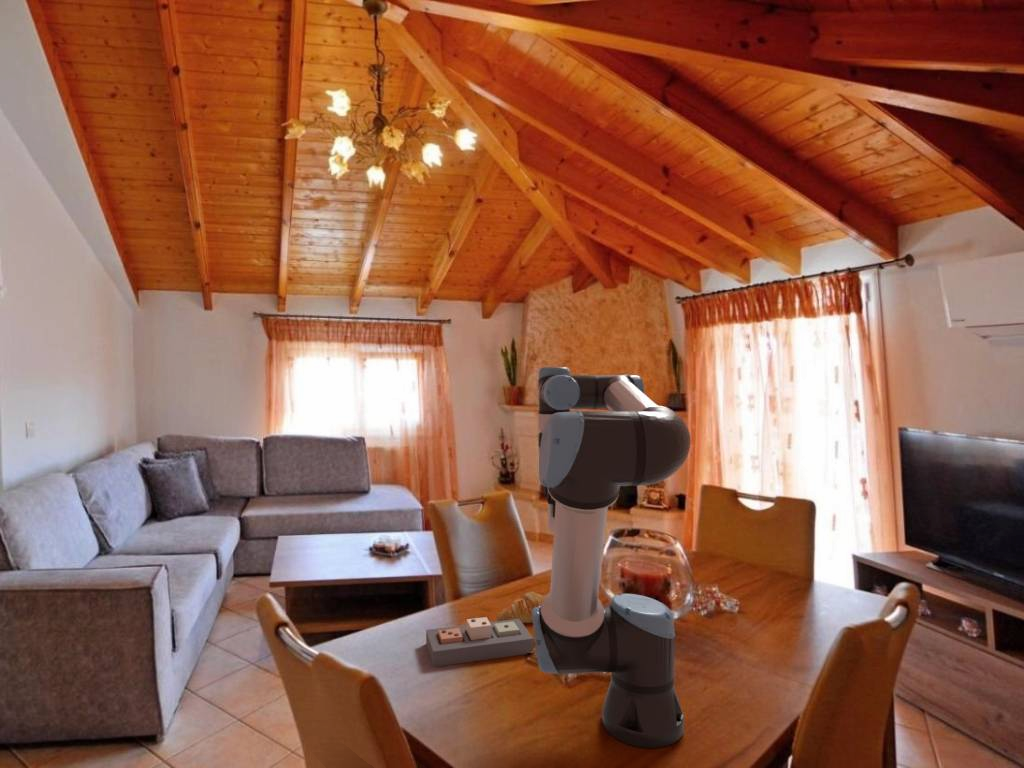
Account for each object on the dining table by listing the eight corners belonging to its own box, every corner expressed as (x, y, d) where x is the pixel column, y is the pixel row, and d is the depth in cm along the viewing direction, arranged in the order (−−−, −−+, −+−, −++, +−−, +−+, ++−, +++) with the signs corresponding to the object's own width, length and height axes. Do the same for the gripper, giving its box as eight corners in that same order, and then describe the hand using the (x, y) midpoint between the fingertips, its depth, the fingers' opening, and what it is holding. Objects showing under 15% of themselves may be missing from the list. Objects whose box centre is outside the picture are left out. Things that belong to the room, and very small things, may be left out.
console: (533, 653, 140) (533, 638, 140) (433, 666, 133) (433, 651, 133) (519, 632, 151) (519, 618, 151) (426, 643, 145) (426, 629, 144)
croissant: (502, 641, 154) (508, 619, 151) (486, 612, 162) (492, 591, 158) (567, 622, 164) (575, 602, 161) (550, 596, 172) (556, 576, 169)
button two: (491, 637, 140) (491, 624, 140) (470, 640, 139) (470, 626, 139) (486, 629, 145) (486, 616, 145) (466, 631, 144) (466, 618, 144)
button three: (462, 649, 138) (462, 635, 138) (441, 651, 137) (441, 638, 137) (458, 640, 143) (458, 627, 143) (438, 642, 142) (438, 629, 142)
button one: (519, 641, 142) (519, 628, 142) (499, 644, 141) (499, 631, 141) (513, 633, 147) (513, 620, 147) (494, 635, 146) (494, 622, 146)
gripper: (579, 433, 134) (579, 535, 135) (559, 428, 147) (559, 522, 147) (548, 434, 132) (548, 538, 132) (531, 429, 145) (531, 524, 145)
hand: (554, 529), depth 140 cm, fingers closed
